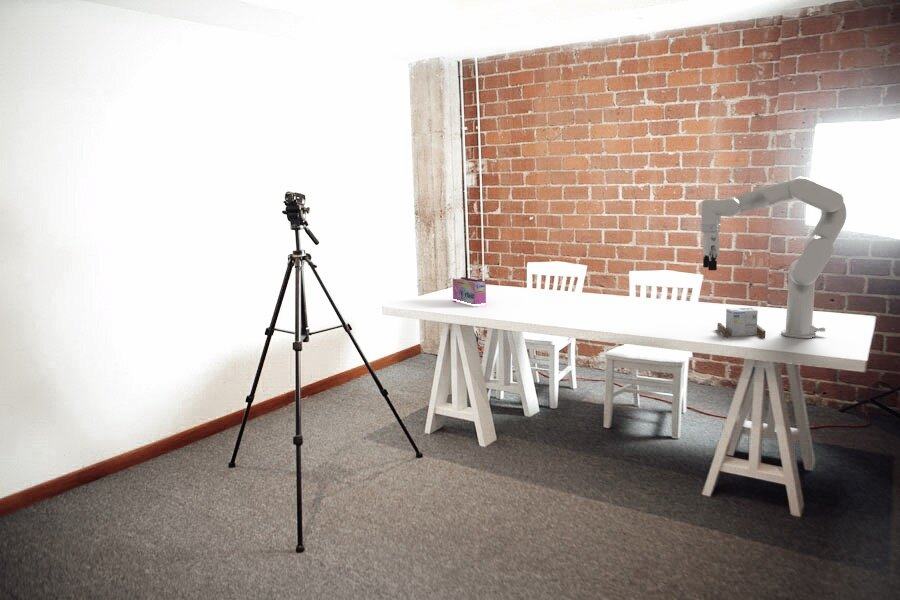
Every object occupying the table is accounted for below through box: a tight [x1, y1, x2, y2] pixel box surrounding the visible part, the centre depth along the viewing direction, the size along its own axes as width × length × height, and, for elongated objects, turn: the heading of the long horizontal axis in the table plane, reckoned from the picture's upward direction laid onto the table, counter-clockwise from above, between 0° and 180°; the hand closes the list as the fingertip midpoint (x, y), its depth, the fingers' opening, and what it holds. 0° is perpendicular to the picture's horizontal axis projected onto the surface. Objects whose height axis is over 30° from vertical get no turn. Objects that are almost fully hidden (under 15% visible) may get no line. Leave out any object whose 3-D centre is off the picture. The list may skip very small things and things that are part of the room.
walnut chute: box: [716, 322, 766, 339], centre depth 270 cm, size 15×15×3 cm
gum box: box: [452, 276, 487, 304], centre depth 359 cm, size 24×8×14 cm, turn 32°
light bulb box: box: [725, 307, 759, 337], centre depth 269 cm, size 11×7×11 cm, turn 92°
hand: (709, 268), depth 274 cm, fingers open, 9 cm apart
